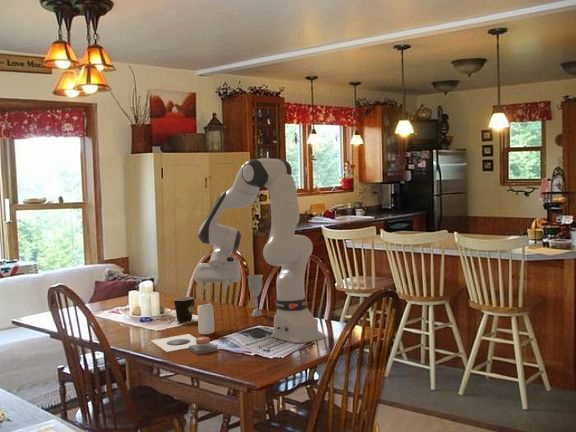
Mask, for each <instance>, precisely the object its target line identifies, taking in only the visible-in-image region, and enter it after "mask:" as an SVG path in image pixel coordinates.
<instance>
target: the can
mask: <svg viewBox="0 0 576 432" xmlns="http://www.w3.org/2000/svg"><path fill="white" fill-rule="evenodd" d="M197 305H198V306H197V323H198V325H197V328H198V333H199V335H203V336H205V335H212V334H214V332H215V314H214V313H215V312H214V306H213V302H201V303H198V304H197Z"/></svg>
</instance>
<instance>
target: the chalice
mask: <svg viewBox="0 0 576 432" xmlns="http://www.w3.org/2000/svg"><path fill="white" fill-rule="evenodd" d="M246 277H247V279H248V289H249V291H250V293H251V295H252V296H253V297H254V302H255V303H254V306H255V308H254V309H253V310H252V313H251V315H250V316H251V317H262V316H263V313H262V311H261V309H260V308H259V307H258V306H259V303H258V301H259V300H258V297H259V296H260V294H261V291H262V289H263V277H264V275H263V274H251V275H247V276H246Z"/></svg>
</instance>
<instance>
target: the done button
mask: <svg viewBox="0 0 576 432" xmlns="http://www.w3.org/2000/svg"><path fill="white" fill-rule="evenodd" d="M195 338H196V344H207V343H209V342H210V343H211V340H210V337H209V336H200V337H195Z"/></svg>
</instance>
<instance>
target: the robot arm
mask: <svg viewBox="0 0 576 432" xmlns="http://www.w3.org/2000/svg"><path fill="white" fill-rule="evenodd" d="M292 173H293V171H292V166H291V163H290V162H289V161H287V160H285V159H282V158H269V157H268V158H265V157H264V158H257V159H256V158H255V159H254V158H253V159H249V160H247V161H246V162H244V164H242V166H241V167H240V168H239V170H238V172H237V174H236V176H235V179H234V181H233V183H232V186H231V187H230V188H229V189H228V190H225V191H222V193H220V195H219V196H218V198H217V199H216V201H215V203H214V204H213V206H212V207H211V210H210V211H209V212H208V215H207V216H206V218H205V220H204V221H203V222H202V223H201V225H200V227H199V230H198V232H197V233H198V234H197V236H198V239H199V241H200V242H201V244H206V245H211V246H213V248H212V249H213V251H212V252H211V255H210V260H209V263H207V262H206V263H203V262H201V263H200V264H197V265H196V268H195V271H194V273H193V276H192V278H193V281H194V282H195V283H198V284H199V283H200V289H201V291H206V288H207V286H206V285H205V284H206V283H224V284H222V287H221V290H222V291H227V288H228V287H229V286H230V285H231V283H238V282H239V281H240V278H241V271H240V268H241V267H240V263H239V260H238V259H237V257H232V255H233V254H234V253H235V252H236V251H238V249H239V248H240V242H241V238H242V234H241V232H240V230H239V229H237V228H234V227H231V226H229V225H228V226H227V225H224V224H220V223H217V220H218V218H219V217H220V215H221V213H222V212H223V211H224V210H228V209H243V208H246V207H249V206H250V205H252V204H253V203H254V202H255V201H256V199H257V196H258V194H259V191H260V189H263V188H264V187H265V188H266V189H267V190H268V192H269V194H268V195H269V203H270V204H269V205H270V215H271V216H270V217H271V219H270V220H271V221H270V222H271V224H270V225H271V226H270V230H269V236H268V239H267V242H266V243H265V245H264V247H263V249H262V255H263V256H262V257H263V258H264V261H265V262H266V263H267V264H268V265H270V266H274V267H281V269H280V272H279V274H278V275H277V277H276V283H275V284H276V299H275V307H276V312H275V314H274V316H273V333H271V334H270V337H271V336H272V337H271V338H273V337H275V338H274V339H277V338H278V340H281V341H286V342H288V343H291V344H292V343H293V344H303V343H304V344H305V343H310V342H315V341H320V340H322V339H324V338H326V336H325V334H324V333H322V332H321V331H319V326H318V324H319V321H318V320H319V319H318V318H316V317H314V316H313V314H312V313H311V311H310V310H309V306H308V305H309V302H308V301H307V298H306V297H305V296H306V295H305V276H306V275H305V274H306V269H307V264H308V261H309V259H310V257H311V255H312V253H313V251H314V250H313V249H314V246H313V245H314V244H313V242H312V240H311V239H310V238H309V237H308V236H306V235H301V234H295V232H296V229H297V226H298V224H299V222H300V207H299V198H298V197H299V196H298V192H297V186H296V183H295V180H294V177H293V176H292Z"/></svg>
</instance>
